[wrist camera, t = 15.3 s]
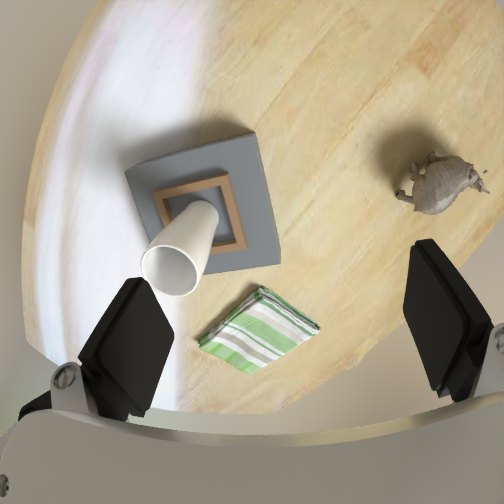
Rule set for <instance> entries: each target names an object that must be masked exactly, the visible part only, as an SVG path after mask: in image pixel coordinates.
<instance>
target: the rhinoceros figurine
mask: <svg viewBox="0 0 504 504" xmlns="http://www.w3.org/2000/svg"><path fill="white" fill-rule="evenodd" d="M429 159H430V162H431V164H430V165H429V166H428V167H427V169H426V171H425V173H424V174H423V175H422V174H419V171H418V167H417V164H416V163H412V164H411V171H412V173H413V175H412V177H411V178H410V179H411V180H412V181H415V182H414V185H413V188H412V196H407V195H405V191H404V190H398V191H397V192H399V195H397V198H398V200H403V201H405V202H408V203H411V204H414V205H415V208H414V211H415V212H417V211H420V212H422V213H424V214H429V215H436V214H438V213H441V212H443V211H444V210H446V209H447V208H448V207H449V206H450V205H451V204H452V203H453V202H454V201H455V199H456V198H457V196H458V194H459V193H460V192H462V191H464V190H465V189H466V188H467V186H469V187H470V188H474V189H478V191H479V192H482V191H484V192H486V193H489V194H490V192H489V191H487V190H486V189H485V187H484V183H483V181H482V179H481V178H480V177H479V175H478V173H477V171H476V170H474V167H473V164H470V163H468V162H465V161H464V160H463V159H461V158H460V157H458V156H450V157H435V152H432V153H431V155H430V156H429ZM483 173H484V174H485V173H487V170H485V171H484V172H483Z"/></svg>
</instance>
